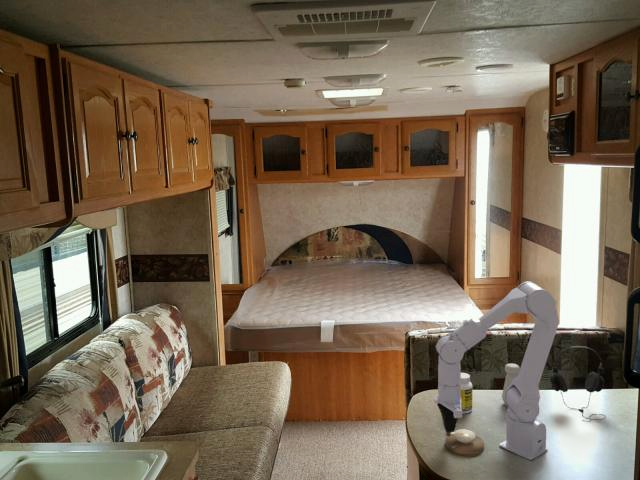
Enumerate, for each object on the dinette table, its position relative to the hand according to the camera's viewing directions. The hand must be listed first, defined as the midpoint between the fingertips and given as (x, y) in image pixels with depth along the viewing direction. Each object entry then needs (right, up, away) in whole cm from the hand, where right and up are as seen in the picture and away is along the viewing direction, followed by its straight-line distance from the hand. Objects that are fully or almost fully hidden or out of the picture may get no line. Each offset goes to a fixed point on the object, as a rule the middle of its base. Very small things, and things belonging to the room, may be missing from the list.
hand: (449, 431), depth 144 cm
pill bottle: (+9, -2, +23) cm, 25 cm away
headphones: (+43, -1, +18) cm, 47 cm away
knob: (+3, -2, +2) cm, 5 cm away
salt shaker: (+25, -1, +25) cm, 35 cm away
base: (+5, -5, +2) cm, 7 cm away
